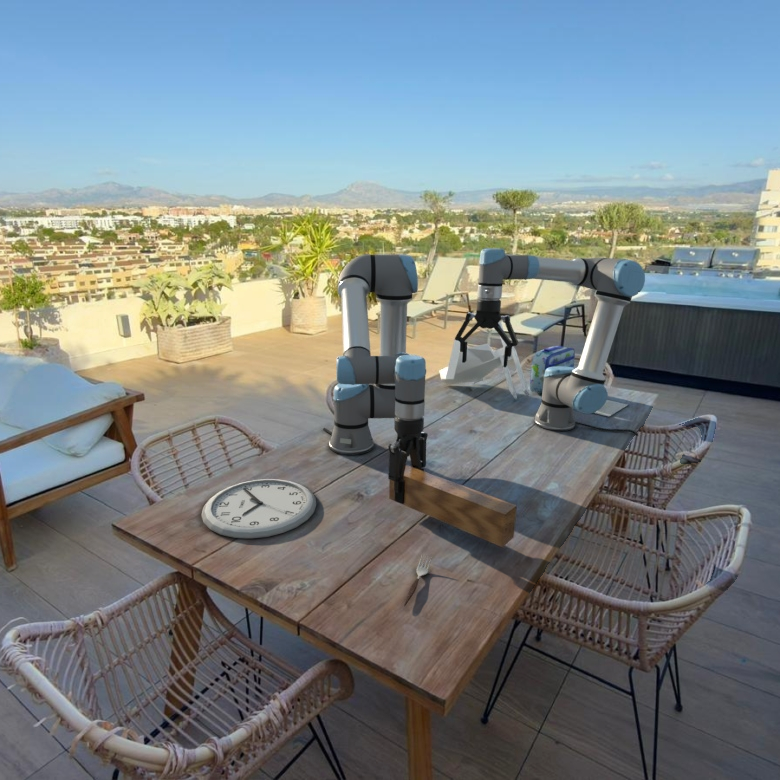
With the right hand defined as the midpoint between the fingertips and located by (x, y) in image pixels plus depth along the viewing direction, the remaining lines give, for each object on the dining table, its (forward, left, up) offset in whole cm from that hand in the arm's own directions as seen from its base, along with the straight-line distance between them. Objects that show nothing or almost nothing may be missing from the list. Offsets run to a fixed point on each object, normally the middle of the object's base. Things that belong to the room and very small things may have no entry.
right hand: (484, 364), depth 172 cm
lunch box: (-37, -74, -30) cm, 88 cm away
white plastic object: (-3, -66, -30) cm, 73 cm away
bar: (+10, +52, -27) cm, 59 cm away
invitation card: (-55, -54, -30) cm, 83 cm away
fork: (+16, +75, -30) cm, 82 cm away
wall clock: (+60, +49, -30) cm, 83 cm away
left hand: (+21, +44, -27) cm, 56 cm away
